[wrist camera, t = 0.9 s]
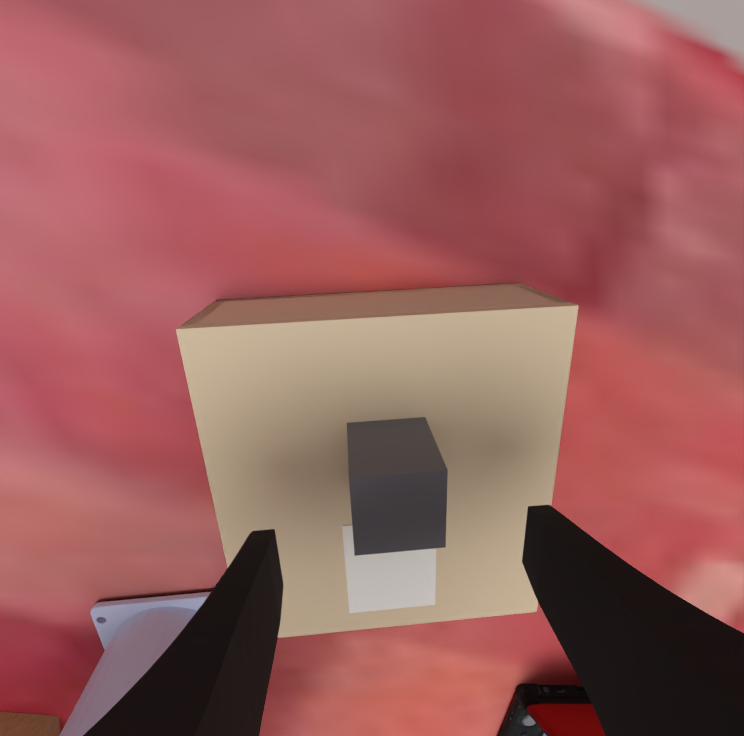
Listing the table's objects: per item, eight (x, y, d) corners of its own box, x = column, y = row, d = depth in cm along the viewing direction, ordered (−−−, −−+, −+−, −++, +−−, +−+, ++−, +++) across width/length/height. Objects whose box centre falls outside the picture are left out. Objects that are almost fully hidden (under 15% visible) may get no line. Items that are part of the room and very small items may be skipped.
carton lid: (532, 602, 20) (575, 689, 17) (245, 631, 20) (224, 729, 16) (571, 302, 15) (647, 331, 11) (181, 325, 14) (125, 364, 11)
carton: (498, 535, 25) (531, 601, 21) (262, 557, 24) (245, 630, 20) (520, 282, 19) (570, 302, 15) (216, 299, 19) (181, 325, 14)
